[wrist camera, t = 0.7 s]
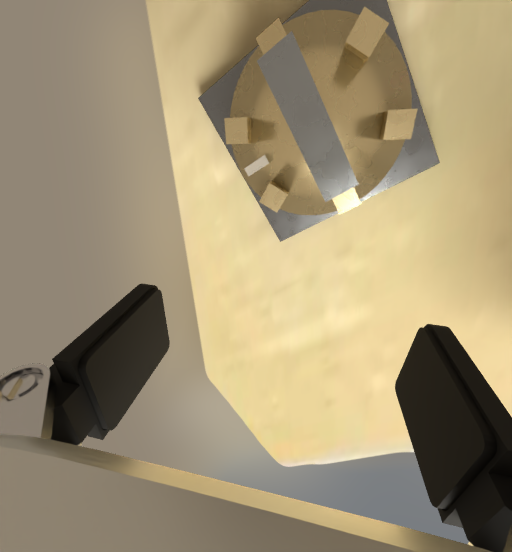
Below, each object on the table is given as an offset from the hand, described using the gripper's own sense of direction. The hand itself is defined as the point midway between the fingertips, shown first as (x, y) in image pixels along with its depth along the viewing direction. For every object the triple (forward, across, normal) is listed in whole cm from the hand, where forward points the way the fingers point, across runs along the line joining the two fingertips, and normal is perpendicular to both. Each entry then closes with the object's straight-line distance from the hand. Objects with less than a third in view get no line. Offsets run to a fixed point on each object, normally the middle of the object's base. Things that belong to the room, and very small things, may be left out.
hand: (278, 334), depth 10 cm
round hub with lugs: (+27, 0, -7) cm, 28 cm away
